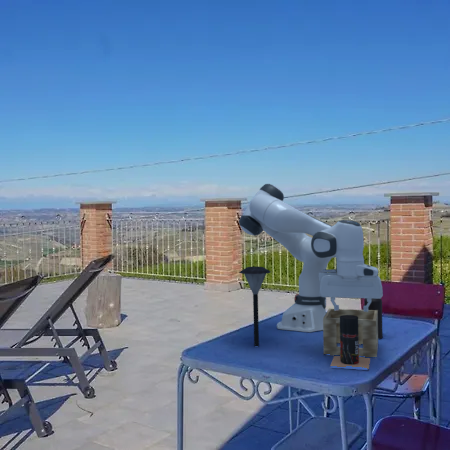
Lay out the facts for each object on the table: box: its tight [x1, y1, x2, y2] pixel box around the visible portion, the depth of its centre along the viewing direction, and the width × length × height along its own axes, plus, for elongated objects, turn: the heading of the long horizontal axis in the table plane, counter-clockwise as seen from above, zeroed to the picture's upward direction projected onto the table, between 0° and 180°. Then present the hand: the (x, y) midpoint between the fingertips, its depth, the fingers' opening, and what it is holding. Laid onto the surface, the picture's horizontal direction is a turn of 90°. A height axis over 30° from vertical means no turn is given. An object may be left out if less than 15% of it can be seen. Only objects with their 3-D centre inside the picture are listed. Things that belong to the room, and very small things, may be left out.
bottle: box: [363, 297, 384, 340], centre depth 206 cm, size 7×7×20 cm
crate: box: [322, 308, 379, 358], centre depth 189 cm, size 18×18×13 cm
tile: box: [329, 355, 371, 370], centre depth 172 cm, size 12×12×1 cm
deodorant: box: [339, 315, 360, 365], centre depth 171 cm, size 6×6×15 cm
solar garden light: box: [238, 266, 272, 347], centre depth 197 cm, size 12×12×30 cm
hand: (351, 311), depth 171 cm, fingers open, 8 cm apart
